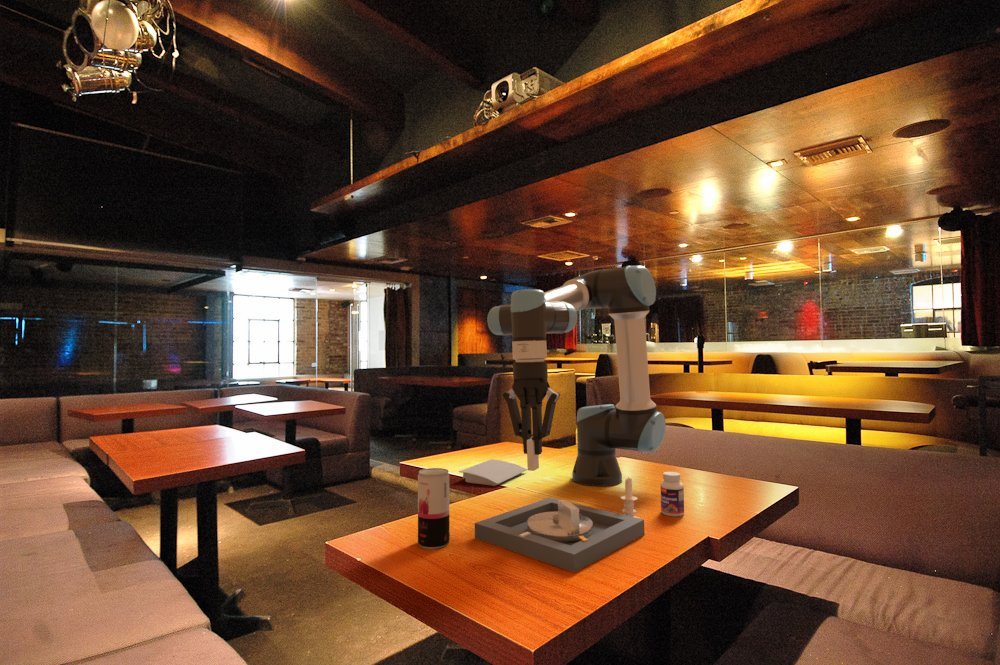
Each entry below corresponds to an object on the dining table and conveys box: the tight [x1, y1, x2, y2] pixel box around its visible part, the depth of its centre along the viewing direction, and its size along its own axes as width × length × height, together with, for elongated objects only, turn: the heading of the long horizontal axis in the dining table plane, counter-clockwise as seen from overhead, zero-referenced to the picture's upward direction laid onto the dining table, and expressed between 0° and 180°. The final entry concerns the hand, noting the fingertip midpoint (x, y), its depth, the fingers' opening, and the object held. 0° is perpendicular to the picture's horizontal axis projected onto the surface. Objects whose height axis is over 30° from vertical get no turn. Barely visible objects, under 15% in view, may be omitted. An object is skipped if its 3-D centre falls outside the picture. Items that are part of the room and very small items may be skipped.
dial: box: [527, 499, 593, 543], centre depth 110 cm, size 16×14×7 cm
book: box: [458, 458, 528, 487], centre depth 165 cm, size 15×23×4 cm, turn 151°
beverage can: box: [417, 467, 451, 550], centre depth 108 cm, size 7×6×15 cm
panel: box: [474, 497, 645, 573], centre depth 111 cm, size 26×26×4 cm
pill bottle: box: [660, 471, 685, 517], centre depth 126 cm, size 5×5×10 cm
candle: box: [620, 476, 641, 519], centre depth 121 cm, size 5×5×10 cm
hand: (533, 468), depth 112 cm, fingers closed
